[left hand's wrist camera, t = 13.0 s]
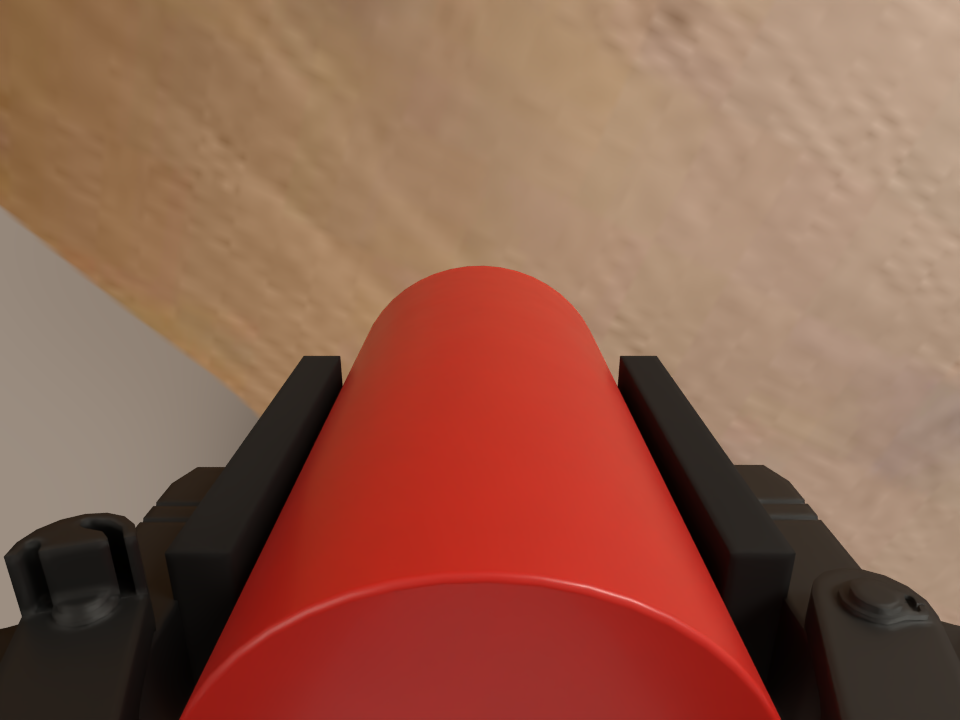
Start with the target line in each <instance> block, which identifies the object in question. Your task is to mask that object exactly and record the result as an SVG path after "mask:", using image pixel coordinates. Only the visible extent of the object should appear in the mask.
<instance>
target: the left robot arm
mask: <svg viewBox="0 0 960 720" xmlns="http://www.w3.org/2000/svg"><path fill="white" fill-rule="evenodd" d="M342 387H343V385H342V372H341V360H340V356H303V358H302V359H301V361H300V362H299V364H298V365H297V366H296V368H295V369H294V371H293V372H292V373H291V375H290V376H289V378H288V379H287V381H286V382H285V383H284V385H283V386H282V388H281V389H280V390H279V392H278V393H277V395H276V396H275V397H274V399H273V400H272V402H271V403H270V405H269V406H268V407H267V409H266V410H265V412H264V413H263V414H262V416H261V417H260V419H259V420H258V422H257V423H256V424H255V426H254V427H253V429H252V430H251V431H250V433H249V434H248V436H247V437H246V439H245V440H244V441H243V443H242V444H241V446H240V447H239V449H238V450H237V451H236V453H235V454H234V456H233V457H232V458H231V460H230V461H229V463H228V464H227V465H226V467H197V468H195V469H194V470H192V471H191V472H189V473H188V474H186V475H184V476H183V477H181V478H180V479H178V480H177V481H175V482H173V483H172V484H171V485H170V486H169V488H168V489H167V490H166V491H165V492H164V494H163V495H162V496H161V497H160V499H159V500H158V501H157V502H156V506H153V507H152V508H151V510H150V511H149V512H148V513H147V514H146V516H145V517H144V518H143V522H140V523H139V524H138V525H137V527H136V528H135V525H134V523H132V522H131V521H130V520H129V519H127V518H126V517H125V516H120V515H115V514H111V513H95V514H83V515H79V516H75V517H71V518H66V519H62V520H59V521H57V522H54V523H52V524H49V525H47V526H44V527H42V528H40V529H37V530H35V531H34V532H32V533H31V534H29V535H28V536H26V537H24V538H23V539H21V540H20V541H18V542H17V543H16V544H15V545H14V546H13V547H12V548H11V549H10V550H9V552H8V553H7V554H6V555H5V556H4V559H5V562H6V565H7V569H8V572H9V575H10V578H11V582H12V585H13V589H14V592H15V595H16V598H17V602H18V605H19V608H20V611H21V615H22V618H21V620H20V622H19V624H18V625H15V626H11V627H8V628H3V629H0V720H179V719H180V717H181V715H182V713H183V711H184V709H185V707H186V705H187V702H188V700H189V698H190V696H191V694H192V692H193V690H194V688H195V686H196V684H197V682H198V680H199V678H200V676H201V674H202V672H203V670H204V668H205V666H206V664H207V662H208V660H209V658H210V656H211V654H212V652H213V650H214V647H215V645H216V643H217V641H218V639H219V637H220V635H221V633H222V631H223V629H224V627H225V625H226V623H227V621H228V619H229V617H230V615H231V613H232V611H233V609H234V607H235V605H236V603H237V601H238V599H239V597H240V595H241V592H242V590H243V588H244V586H245V584H246V582H247V580H248V578H249V576H250V574H251V572H252V570H253V568H254V566H255V564H256V562H257V560H258V558H259V556H260V554H261V552H262V550H263V548H264V546H265V544H266V542H267V540H268V537H269V535H270V533H271V531H272V529H273V527H274V525H275V523H276V521H277V519H278V517H279V515H280V513H281V511H282V509H283V507H284V505H285V503H286V501H287V499H288V497H289V495H290V493H291V491H292V489H293V487H294V485H295V482H296V480H297V478H298V476H299V474H300V472H301V470H302V468H303V466H304V464H305V462H306V460H307V458H308V456H309V454H310V452H311V450H312V448H313V446H314V444H315V442H316V440H317V438H318V436H319V434H320V432H321V430H322V427H323V425H324V423H325V421H326V419H327V417H328V415H329V413H330V411H331V409H332V407H333V405H334V403H335V401H336V399H337V397H338V395H339V393H340V391H341V389H342ZM618 389H619V391H620V393H621V395H622V397H623V399H624V401H625V403H626V405H627V407H628V409H629V411H630V413H631V415H632V417H633V419H634V421H635V423H636V425H637V427H638V429H639V431H640V433H641V435H642V438H643V440H644V442H645V444H646V446H647V448H648V450H649V452H650V454H651V456H652V458H653V460H654V462H655V464H656V466H657V468H658V470H659V472H660V474H661V476H662V478H663V480H664V482H665V484H666V486H667V488H668V490H669V492H670V494H671V496H672V499H673V501H674V503H675V505H676V507H677V509H678V511H679V513H680V515H681V517H682V519H683V521H684V523H685V525H686V527H687V529H688V531H689V533H690V535H691V537H692V539H693V541H694V543H695V545H696V547H697V549H698V551H699V553H700V555H701V558H702V560H703V562H704V564H705V566H706V568H707V570H708V572H709V574H710V576H711V578H712V580H713V582H714V584H715V586H716V588H717V590H718V592H719V594H720V596H721V598H722V600H723V602H724V604H725V606H726V608H727V610H728V612H729V614H730V616H731V619H732V621H733V623H734V625H735V627H736V629H737V631H738V633H739V635H740V637H741V639H742V641H743V643H744V645H745V647H746V649H747V651H748V653H749V655H750V657H751V659H752V661H753V663H754V665H755V667H756V669H757V671H758V673H759V675H760V678H761V680H762V682H763V684H764V686H765V688H766V690H767V692H768V694H769V696H770V698H771V700H772V702H773V704H774V706H775V708H776V710H777V712H778V714H779V716H780V718H781V720H960V626H957V625H953V624H949V623H946V622H942V621H940V619H939V617H938V615H937V614H936V612H935V611H934V610H933V608H932V607H931V606H930V605H929V603H928V602H927V601H926V600H925V599H924V598H922V597H921V596H920V595H918V594H917V593H916V592H914V591H913V590H912V589H910V588H909V587H908V586H906V585H904V584H901V583H899V582H897V581H895V580H893V579H891V578H889V577H887V576H884V575H881V574H877V573H873V572H870V571H866V570H862V569H861V568H860V567H859V566H858V564H857V563H856V562H855V561H854V559H853V558H852V557H851V556H850V555H849V553H848V552H847V551H846V550H845V549H844V547H843V546H842V545H841V544H840V542H839V541H838V540H837V539H836V538H835V536H834V535H833V534H832V533H831V532H830V530H829V529H828V528H827V527H826V526H825V524H824V523H823V522H822V521H821V520H818V518H817V517H818V516H817V515H816V513H815V512H814V511H813V510H812V509H811V507H810V506H809V505H808V504H805V500H804V499H803V498H802V496H801V495H800V494H799V493H798V492H797V490H796V489H795V488H794V487H793V485H792V484H791V483H790V482H789V481H788V480H786V479H785V478H783V477H782V476H780V475H778V474H777V473H775V472H774V471H772V470H770V469H769V468H767V467H766V466H764V465H733V463H732V462H731V461H730V459H729V458H728V456H727V455H726V453H725V452H724V451H723V449H722V448H721V446H720V445H719V444H718V442H717V441H716V439H715V438H714V436H713V435H712V434H711V432H710V431H709V429H708V428H707V427H706V425H705V424H704V422H703V421H702V419H701V418H700V417H699V415H698V414H697V412H696V411H695V410H694V408H693V407H692V405H691V404H690V403H689V401H688V400H687V398H686V397H685V395H684V394H683V393H682V391H681V390H680V388H679V387H678V386H677V384H676V383H675V381H674V380H673V378H672V377H671V376H670V374H669V373H668V371H667V370H666V369H665V367H664V366H663V364H662V363H661V361H660V360H659V359H658V357H657V356H620V365H619V378H618Z"/></svg>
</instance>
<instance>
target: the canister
mask: <svg viewBox="0 0 960 720" xmlns="http://www.w3.org/2000/svg"><path fill="white" fill-rule="evenodd" d="M179 720H781V719H780V716H779V714H778V712H777V710H776V708H775V706H774V704H773V702H772V700H771V698H770V696H769V694H768V692H767V690H766V688H765V686H764V684H763V682H762V680H761V678H760V675H759V673H758V671H757V669H756V667H755V665H754V663H753V661H752V659H751V657H750V655H749V653H748V651H747V649H746V647H745V645H744V643H743V641H742V639H741V637H740V635H739V633H738V631H737V629H736V627H735V625H734V623H733V621H732V619H731V616H730V614H729V612H728V610H727V608H726V606H725V604H724V602H723V600H722V598H721V596H720V594H719V592H718V590H717V588H716V586H715V584H714V582H713V580H712V578H711V576H710V574H709V572H708V570H707V568H706V566H705V564H704V562H703V560H702V558H701V555H700V553H699V551H698V549H697V547H696V545H695V543H694V541H693V539H692V537H691V535H690V533H689V531H688V529H687V527H686V525H685V523H684V521H683V519H682V517H681V515H680V513H679V511H678V509H677V507H676V505H675V503H674V501H673V499H672V496H671V494H670V492H669V490H668V488H667V486H666V484H665V482H664V480H663V478H662V476H661V474H660V472H659V470H658V468H657V466H656V464H655V462H654V460H653V458H652V456H651V454H650V452H649V450H648V448H647V446H646V444H645V442H644V440H643V438H642V435H641V433H640V431H639V429H638V427H637V425H636V423H635V421H634V419H633V417H632V415H631V413H630V411H629V409H628V407H627V405H626V403H625V401H624V399H623V397H622V395H621V393H620V391H619V389H618V387H617V385H616V383H615V381H614V379H613V377H612V374H611V372H610V370H609V368H608V366H607V364H606V362H605V360H604V358H603V356H602V354H601V352H600V350H599V348H598V346H597V344H596V342H595V340H594V338H593V336H592V334H591V332H590V330H589V328H588V327H587V325H586V323H585V321H584V320H583V318H582V317H581V315H580V314H579V313H578V312H577V310H576V309H575V308H574V307H573V306H572V304H570V303H569V302H568V301H567V300H566V299H565V298H564V297H563V296H562V295H561V294H560V293H558V292H557V291H555V290H554V289H553V288H551V287H550V286H548V285H547V284H545V283H543V282H541V281H539V280H537V279H536V278H534V277H531V276H529V275H526V274H523V273H521V272H518V271H514V270H510V269H505V268H501V267H490V266H467V267H461V268H455V269H449V270H446V271H443V272H439V273H436V274H433V275H431V276H429V277H427V278H424V279H422V280H420V281H418V282H417V283H415V284H413V285H412V286H410V287H408V288H407V289H405V290H404V291H403V292H402V293H400V294H399V295H398V296H397V297H396V298H394V299H393V300H392V301H391V302H390V303H389V304H388V306H387V307H386V308H385V309H384V310H383V311H382V312H381V314H380V315H379V317H378V318H377V320H376V321H375V322H374V324H373V326H372V328H371V330H370V332H369V334H368V336H367V338H366V340H365V342H364V344H363V346H362V348H361V350H360V352H359V354H358V356H357V358H356V360H355V362H354V364H353V366H352V368H351V370H350V372H349V375H348V377H347V379H346V381H345V383H344V385H343V387H342V389H341V391H340V393H339V395H338V397H337V399H336V401H335V403H334V405H333V407H332V409H331V411H330V413H329V415H328V417H327V419H326V421H325V423H324V425H323V427H322V430H321V432H320V434H319V436H318V438H317V440H316V442H315V444H314V446H313V448H312V450H311V452H310V454H309V456H308V458H307V460H306V462H305V464H304V466H303V468H302V470H301V472H300V474H299V476H298V478H297V480H296V482H295V485H294V487H293V489H292V491H291V493H290V495H289V497H288V499H287V501H286V503H285V505H284V507H283V509H282V511H281V513H280V515H279V517H278V519H277V521H276V523H275V525H274V527H273V529H272V531H271V533H270V535H269V537H268V540H267V542H266V544H265V546H264V548H263V550H262V552H261V554H260V556H259V558H258V560H257V562H256V564H255V566H254V568H253V570H252V572H251V574H250V576H249V578H248V580H247V582H246V584H245V586H244V588H243V590H242V592H241V595H240V597H239V599H238V601H237V603H236V605H235V607H234V609H233V611H232V613H231V615H230V617H229V619H228V621H227V623H226V625H225V627H224V629H223V631H222V633H221V635H220V637H219V639H218V641H217V643H216V645H215V647H214V650H213V652H212V654H211V656H210V658H209V660H208V662H207V664H206V666H205V668H204V670H203V672H202V674H201V676H200V678H199V680H198V682H197V684H196V686H195V688H194V690H193V692H192V694H191V696H190V698H189V700H188V702H187V705H186V707H185V709H184V711H183V713H182V715H181V717H180V719H179Z"/></svg>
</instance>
